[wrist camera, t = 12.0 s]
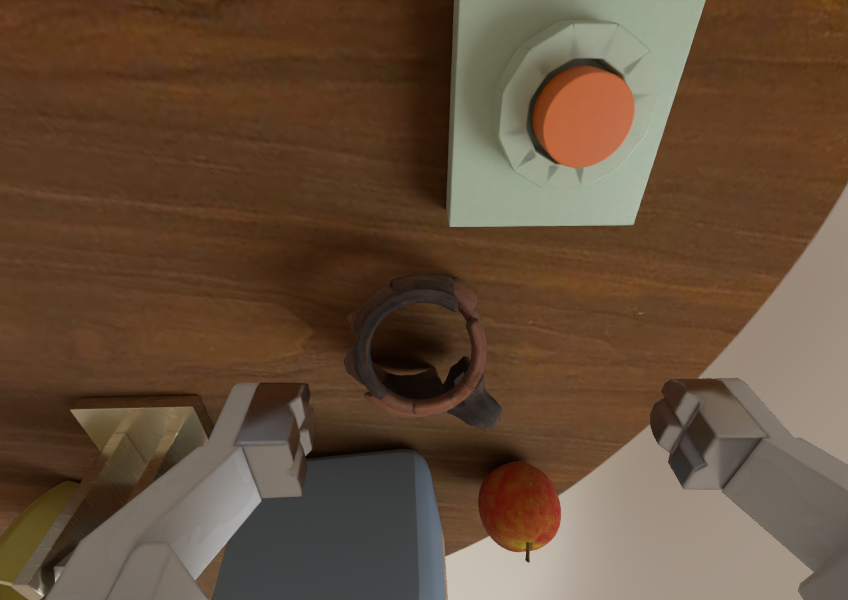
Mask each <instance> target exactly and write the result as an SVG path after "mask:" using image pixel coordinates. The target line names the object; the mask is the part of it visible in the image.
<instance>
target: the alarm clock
mask: <svg viewBox="0 0 848 600" xmlns="http://www.w3.org/2000/svg"><path fill="white" fill-rule="evenodd" d="M306 461H307V466H308V470H307V475H306V479H305V484H304V488H303V493H302V496H299V497H277V498H261V502H260V503H259V504H258V506H257V507H256V508H255V509H254V510H253V512H252V513H251V514H250V515H249V516H248V518H247V519H246V520H245V521H244V522H243V524H242V525H241V526H240V527H239V528H238V530H237V531H236V532H235V533H234V534H233V536H232V537H231V538H230V539H229V540H228V542H227V545H226V549H225V552H224V556H223V560H222V564H221V567H220V571H219V575H218V579H217V582H216V586H215V590H214V594H213V597H212V600H448V596H447V581H446V565H445V549H444V537H443V532H442V527H441V523H440V518H439V513H438V508H437V503H436V498H435V493H434V488H433V483H432V478H431V473H430V470H429V467H428V464H427V462H426V460H425V459H424V458H423V457H422V456H421V455H419V454H418V453H417V452H416V451H415V450H409V449H394V450H385V451H375V452H365V453H355V454H346V455H336V456H326V457H316V458H307V459H306Z"/></svg>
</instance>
